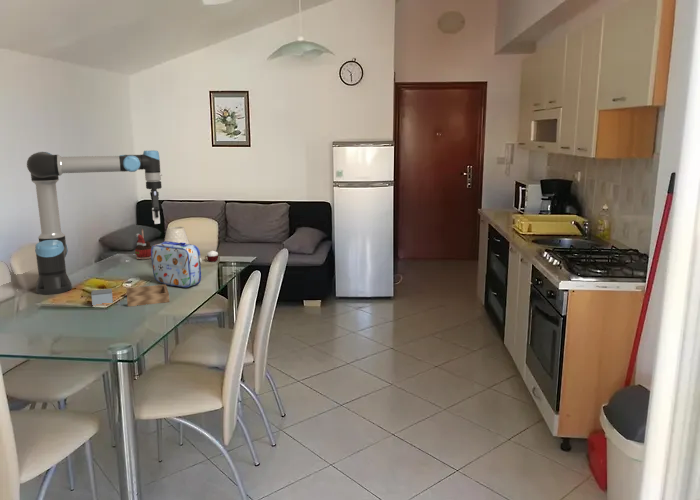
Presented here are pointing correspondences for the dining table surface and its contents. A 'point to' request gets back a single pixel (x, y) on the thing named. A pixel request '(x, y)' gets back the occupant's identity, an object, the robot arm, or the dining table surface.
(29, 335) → the dining table surface
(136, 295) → the bay
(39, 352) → the dining table surface
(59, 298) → the dining table surface
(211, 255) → the cocoa
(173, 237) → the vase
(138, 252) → the cake
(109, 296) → the gray block
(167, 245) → the lunch box
